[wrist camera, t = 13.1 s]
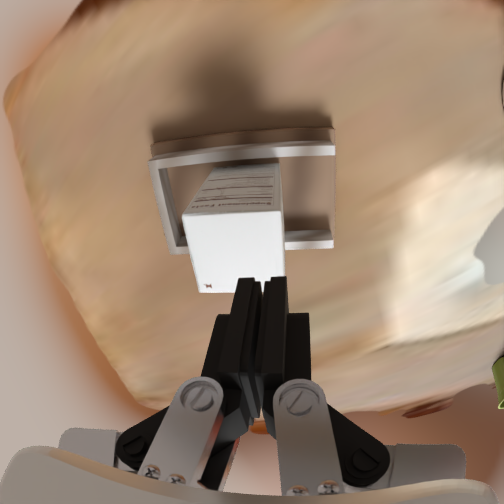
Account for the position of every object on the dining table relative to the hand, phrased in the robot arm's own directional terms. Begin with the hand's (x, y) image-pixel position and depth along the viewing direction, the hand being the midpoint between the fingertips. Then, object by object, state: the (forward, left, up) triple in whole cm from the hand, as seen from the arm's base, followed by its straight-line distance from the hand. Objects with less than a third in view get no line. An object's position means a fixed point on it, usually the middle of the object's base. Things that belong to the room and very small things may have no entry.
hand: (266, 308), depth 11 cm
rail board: (+4, +5, -25) cm, 25 cm away
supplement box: (+3, +5, -23) cm, 24 cm away
